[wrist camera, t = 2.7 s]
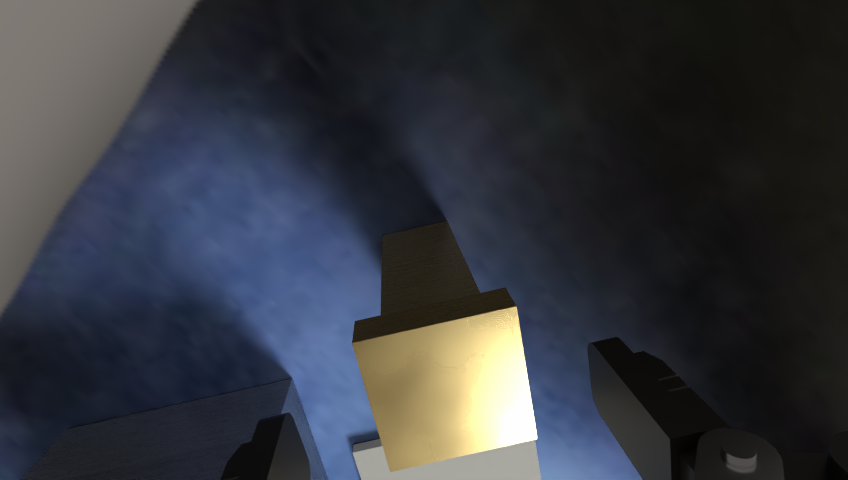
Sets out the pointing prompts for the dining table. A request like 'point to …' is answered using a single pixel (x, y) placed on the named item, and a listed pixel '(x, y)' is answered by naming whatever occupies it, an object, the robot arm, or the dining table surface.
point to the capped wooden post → (441, 355)
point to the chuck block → (174, 439)
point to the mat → (454, 464)
